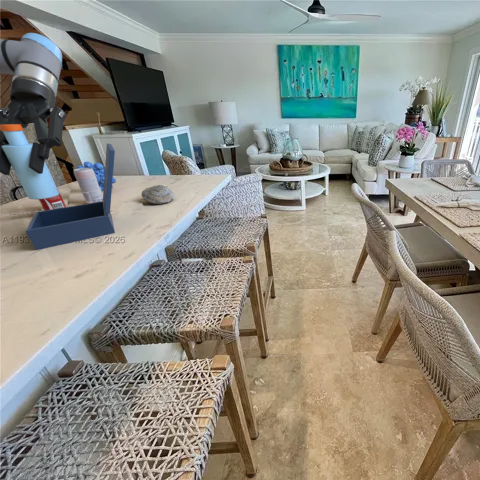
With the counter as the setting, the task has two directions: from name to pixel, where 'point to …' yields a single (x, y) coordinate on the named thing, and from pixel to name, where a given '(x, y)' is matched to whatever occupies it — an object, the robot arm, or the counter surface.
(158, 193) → the fossilized seashell
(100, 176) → the grapes
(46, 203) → the soda can
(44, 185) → the water bottle
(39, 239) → the navy blue open box
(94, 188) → the energy drink
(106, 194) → the lid
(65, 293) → the counter surface
